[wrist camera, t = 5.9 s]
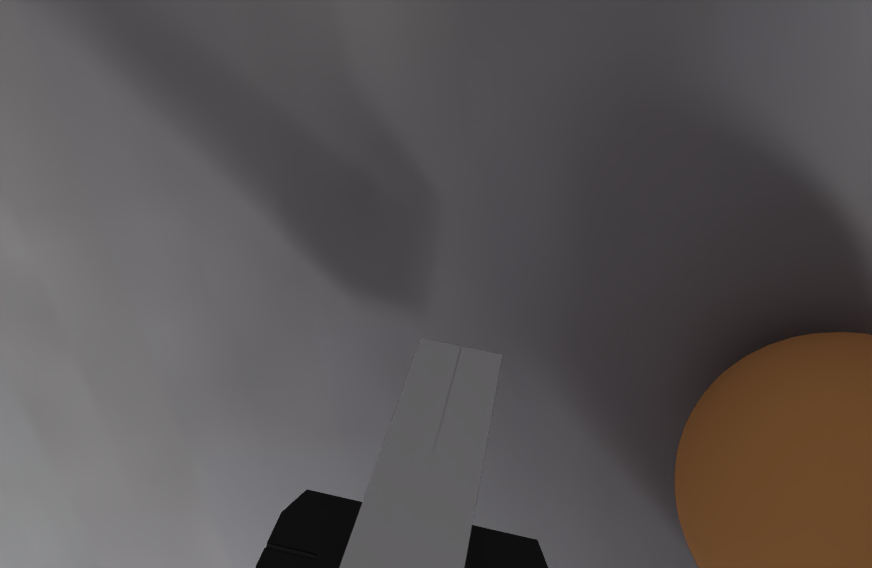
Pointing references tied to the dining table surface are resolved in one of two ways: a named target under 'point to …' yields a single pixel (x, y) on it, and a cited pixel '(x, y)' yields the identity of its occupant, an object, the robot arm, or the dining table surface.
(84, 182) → the dining table surface
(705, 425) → the ball
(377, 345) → the dining table surface
